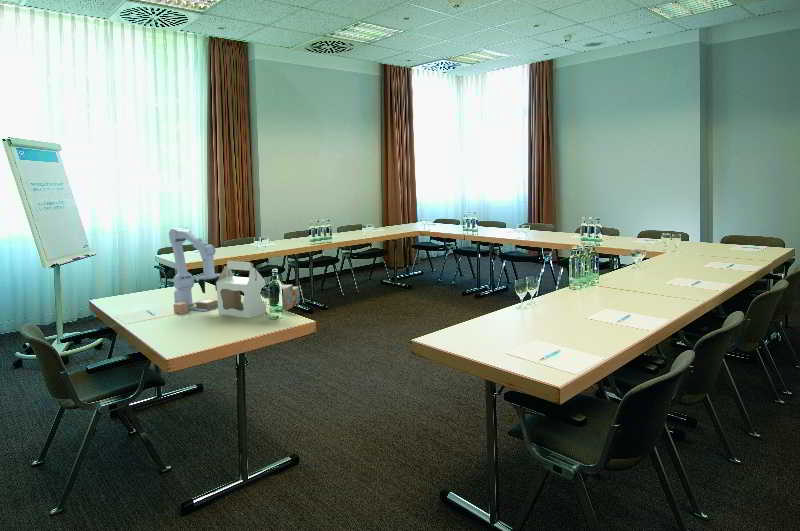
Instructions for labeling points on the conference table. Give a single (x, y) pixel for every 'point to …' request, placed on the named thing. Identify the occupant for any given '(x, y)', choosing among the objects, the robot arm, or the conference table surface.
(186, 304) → the terracotta cube
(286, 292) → the white printed box
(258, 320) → the conference table surface
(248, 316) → the gable box
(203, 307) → the plate
